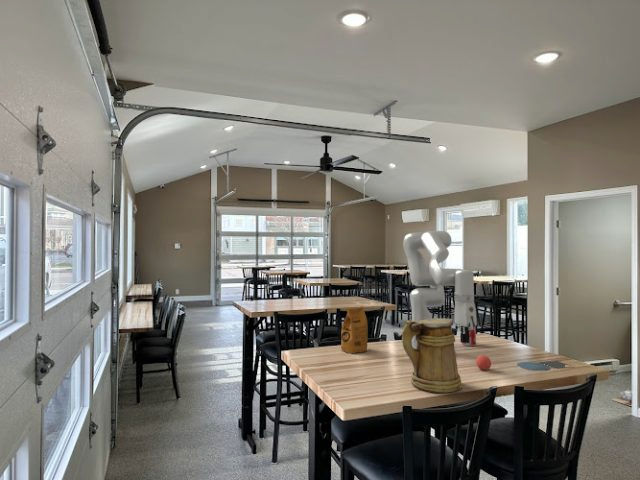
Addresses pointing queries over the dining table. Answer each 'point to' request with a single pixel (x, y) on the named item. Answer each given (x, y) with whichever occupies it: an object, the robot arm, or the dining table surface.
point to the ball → (483, 362)
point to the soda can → (471, 338)
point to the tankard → (432, 355)
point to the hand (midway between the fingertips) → (464, 342)
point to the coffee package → (354, 331)
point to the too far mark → (554, 364)
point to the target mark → (533, 366)
